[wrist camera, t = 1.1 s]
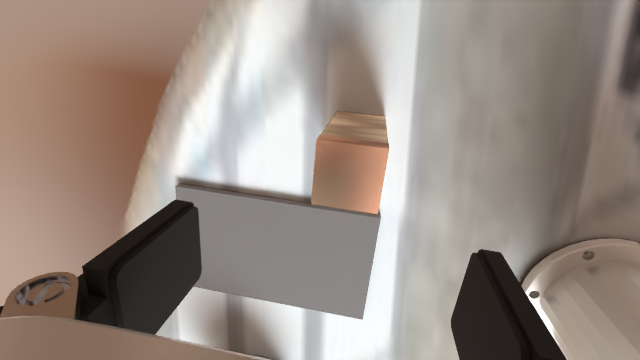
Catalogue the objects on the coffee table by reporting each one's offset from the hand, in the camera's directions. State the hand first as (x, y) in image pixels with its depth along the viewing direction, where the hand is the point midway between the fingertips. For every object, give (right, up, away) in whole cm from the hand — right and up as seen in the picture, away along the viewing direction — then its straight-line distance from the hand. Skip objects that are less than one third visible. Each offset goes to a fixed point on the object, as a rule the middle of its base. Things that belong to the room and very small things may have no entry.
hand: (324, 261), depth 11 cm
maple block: (+3, +6, +17) cm, 18 cm away
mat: (-5, -5, +23) cm, 24 cm away
